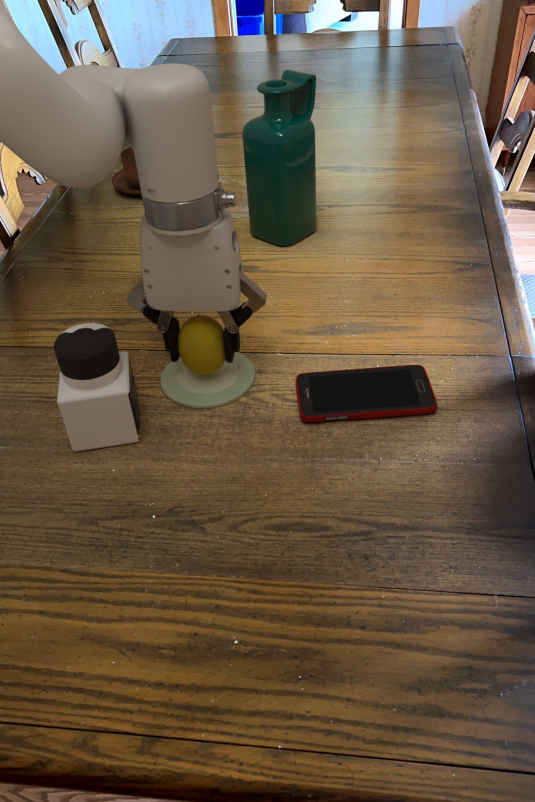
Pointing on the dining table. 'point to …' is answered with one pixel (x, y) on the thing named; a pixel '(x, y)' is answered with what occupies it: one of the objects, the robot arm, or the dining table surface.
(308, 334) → the dining table surface
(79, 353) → the medicine bottle
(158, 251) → the robot arm
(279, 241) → the pitcher
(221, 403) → the saucer
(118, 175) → the cup and saucer
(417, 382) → the cell phone
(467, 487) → the dining table surface
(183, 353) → the lemon
